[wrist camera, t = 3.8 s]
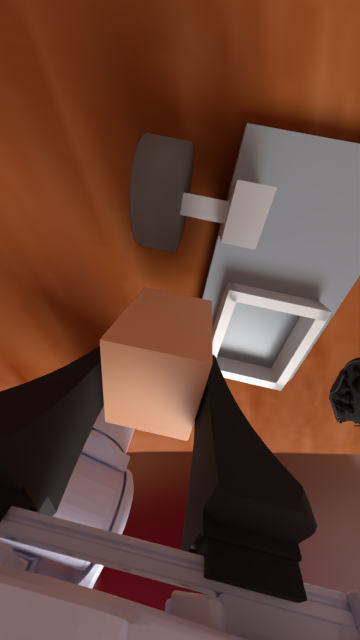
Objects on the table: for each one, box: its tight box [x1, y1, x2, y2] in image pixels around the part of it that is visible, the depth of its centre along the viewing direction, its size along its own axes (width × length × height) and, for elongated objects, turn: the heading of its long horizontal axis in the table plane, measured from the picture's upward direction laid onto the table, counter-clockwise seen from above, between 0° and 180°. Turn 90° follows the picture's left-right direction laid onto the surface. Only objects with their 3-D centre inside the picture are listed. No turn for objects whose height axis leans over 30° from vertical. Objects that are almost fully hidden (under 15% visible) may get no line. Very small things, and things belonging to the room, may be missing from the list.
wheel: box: [130, 133, 230, 253], centre depth 12 cm, size 6×6×6 cm
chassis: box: [202, 123, 360, 391], centre depth 15 cm, size 18×11×6 cm, turn 170°
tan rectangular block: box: [100, 287, 213, 441], centre depth 12 cm, size 6×4×6 cm
